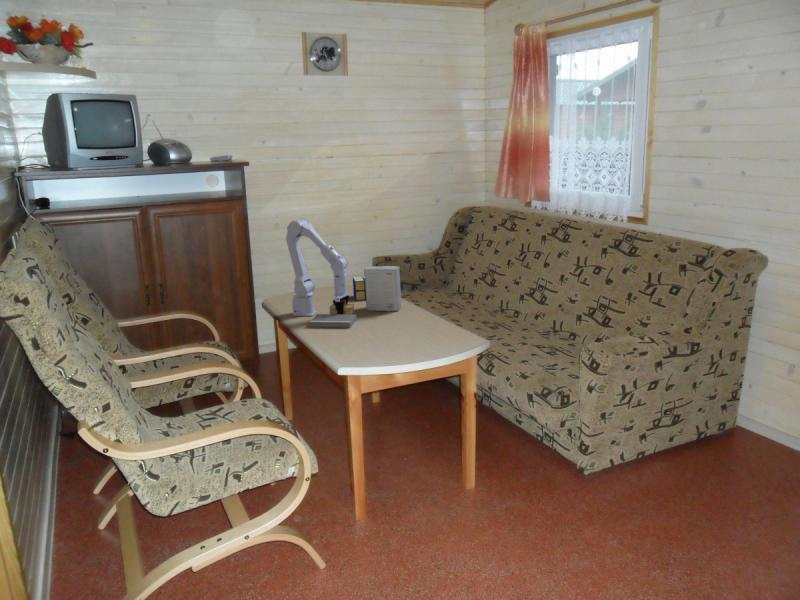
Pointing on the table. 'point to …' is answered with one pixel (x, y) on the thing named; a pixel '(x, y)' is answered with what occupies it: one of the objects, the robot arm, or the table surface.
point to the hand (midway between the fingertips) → (342, 313)
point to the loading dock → (333, 320)
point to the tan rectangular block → (347, 310)
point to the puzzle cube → (359, 288)
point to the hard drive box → (382, 288)
